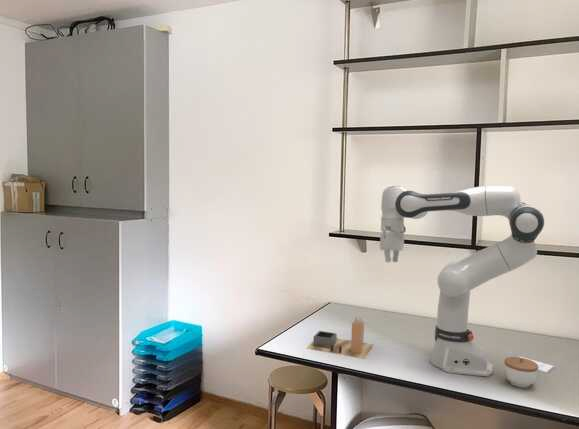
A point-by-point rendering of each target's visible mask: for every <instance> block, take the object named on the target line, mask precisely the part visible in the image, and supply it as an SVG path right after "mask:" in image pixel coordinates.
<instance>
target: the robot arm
mask: <svg viewBox="0 0 579 429" xmlns="http://www.w3.org/2000/svg"><path fill="white" fill-rule="evenodd" d="M380 206H381V208H380V209H381V217H380V232H381V233H380V236H379V237H380V241H379V248H380V250H381V251H383V253H384V257H385V259H384V260H385V263H391V262H393V263H398V262H399V256H400V251H403V250H404V244H405V234H406V230H407V229H406V226H405V221H404V220H405V218H407V219H413V220H419V219H422V218H424V217H425V216H426V215H427V214H428V212H438V211H439V212H441V211H449V212H450V211H451V212H457V213H461V214H462V215H467V216H474V217H491V216H492V217H493V216H500V217H501V216H502V217H505V218H506V219H507V220H508V223H509V226H510V231H511V233H510V235H509V236H508V237H507V238H505V239H503V240H501V241H498V242H496V243H493V244H492V245H488V246H487V247H485V248H483V249H480V250H479V251H476V252H475V253H472V254H471V255H469V256H467V257H464V258H463V259H461V260H459V261H458V260H454V261H450V262H448V263H446V264H445V266H443V268H442V269H441V270H440V272H439V273H438V276H437V285H438V288H439V295H438V296H439V297H438V303H437V304H438V305H437V316H436V325H435V328H434V340H435V341H434V346H433V350H432V351H433V352H432V354H431V357H430V360H429V361H430V363H431V364H432V365H433V366H435V367H436V368H439V369H441V370H442V371H444V372H446V373H449V374H460V375H470V376H480V377H489V376H492V374H493V373H494V371H493V370H494V368H493V364H492V363H490V362H489V361H488V360H487V359H488V358H487V354H486V352H485V349H484V348H482V347H481V346H480V345H479V344H477V343H476V342H475V341H474V334H473V331H472V330H469V329H468V321H469V320H468V319H469V307H470V296H471V291H472V290H474V289H475V288H478V287H480V286H481V285H483V284H485V283H487V282H489V281H491V280H493V279H496V278H498V277H500V276H503V275H505V274H508V273H510V272H512V271H515V270H516V269H519V268H521V267H522V266H524V265H527V264H528V263H529V262H530V261H532V260H534V259H535V258H536V256H537V254H538V248H537V244H536V242H535V240H536V239H537V237H538V236H539V235H540V233H541V232H542V231H543V229H544V226H545V217H544V214H543V213H542V212H541V210H540V209H539V208H537V207H535V206H532V205H529V204H527V203H525V202H523V201H522V200H521V195H520V192H519V190H518V189H516V187H514V186H511V185H498V184H497V185H483V186H474V187H470V188H466V189H461V190H458V191H454V192H452V191H451V192H447V193H446V192H445V193H443V192H442V193H428V194H426V193H425V194H423V193H419V192H416V191H414V190H407V189H405V188H404V187H403V186H401V185H392V186H389V187H386V188H384V190H383V192H382V195H381V204H380ZM391 252H392V253H393V254H392V256H393V257H392V258H391Z"/></svg>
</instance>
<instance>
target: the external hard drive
mask: <svg viewBox="0 0 579 429" xmlns="http://www.w3.org/2000/svg"><path fill="white" fill-rule="evenodd" d="M519 357H520V358H525V359H529V360H531V361H533V362H535V363H537V365H538V372H537V373H541V374H545V375H547V374H549V373H550V372H552V370H554V368H555V366H554V365H551V364H548V363H544V362H540V361H537V360H534V359H530V358H527V357H523V356H519Z"/></svg>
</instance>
